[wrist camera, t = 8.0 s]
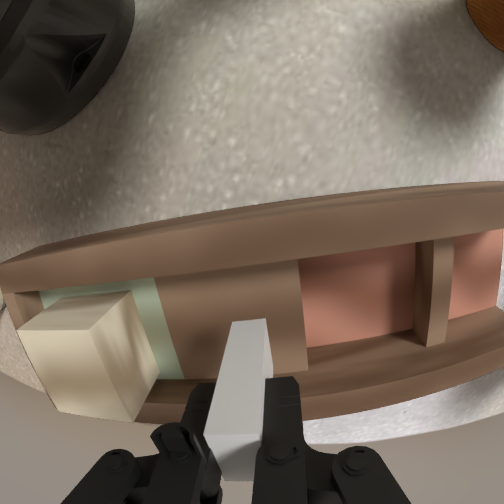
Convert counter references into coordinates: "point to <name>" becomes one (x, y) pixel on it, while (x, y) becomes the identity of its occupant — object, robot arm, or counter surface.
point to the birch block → (92, 355)
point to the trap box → (301, 292)
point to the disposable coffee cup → (489, 19)
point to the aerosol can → (2, 301)
